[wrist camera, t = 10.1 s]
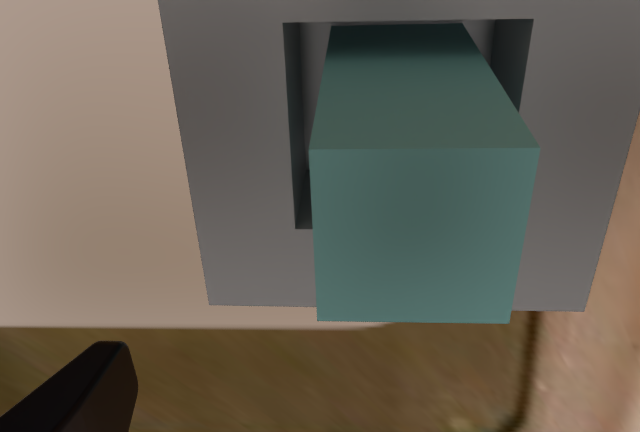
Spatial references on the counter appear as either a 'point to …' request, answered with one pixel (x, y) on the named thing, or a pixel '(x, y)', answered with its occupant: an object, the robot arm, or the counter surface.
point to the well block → (300, 106)
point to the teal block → (416, 179)
